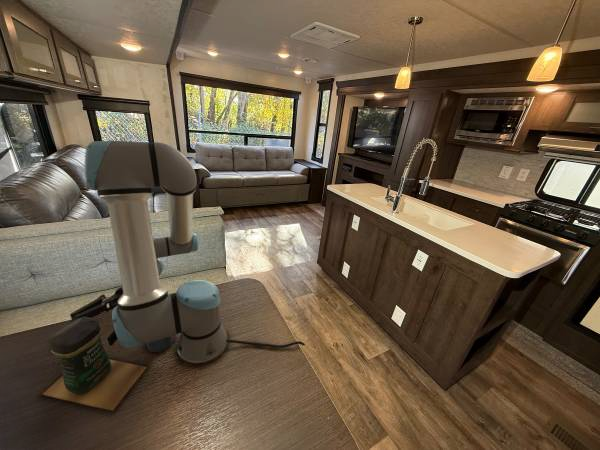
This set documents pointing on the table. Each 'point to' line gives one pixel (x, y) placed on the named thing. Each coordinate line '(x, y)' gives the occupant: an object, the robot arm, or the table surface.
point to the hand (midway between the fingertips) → (85, 340)
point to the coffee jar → (81, 354)
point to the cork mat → (102, 387)
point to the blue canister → (160, 344)
